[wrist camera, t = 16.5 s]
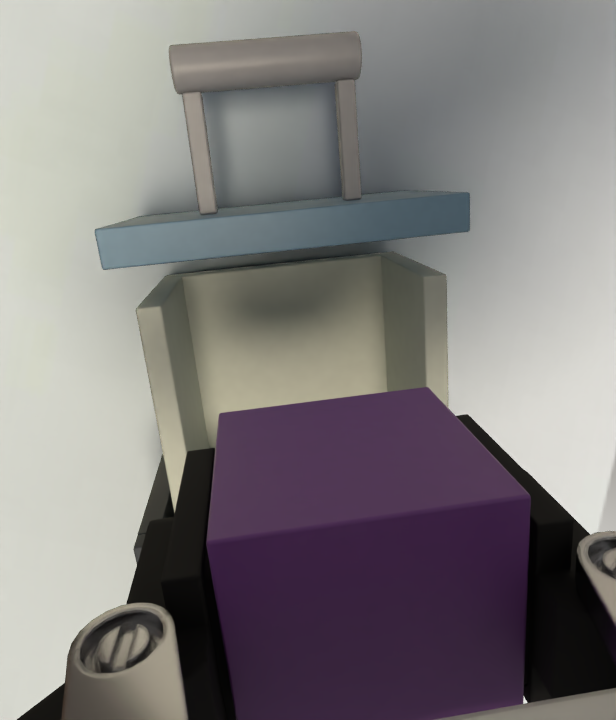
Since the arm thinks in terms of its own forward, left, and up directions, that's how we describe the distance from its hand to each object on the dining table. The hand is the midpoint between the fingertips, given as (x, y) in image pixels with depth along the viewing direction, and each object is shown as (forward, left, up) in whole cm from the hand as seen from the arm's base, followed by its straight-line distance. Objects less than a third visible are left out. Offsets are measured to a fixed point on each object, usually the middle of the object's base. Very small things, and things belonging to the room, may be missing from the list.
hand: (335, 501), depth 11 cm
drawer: (0, -1, -15) cm, 15 cm away
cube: (0, 0, 0) cm, 0 cm away
